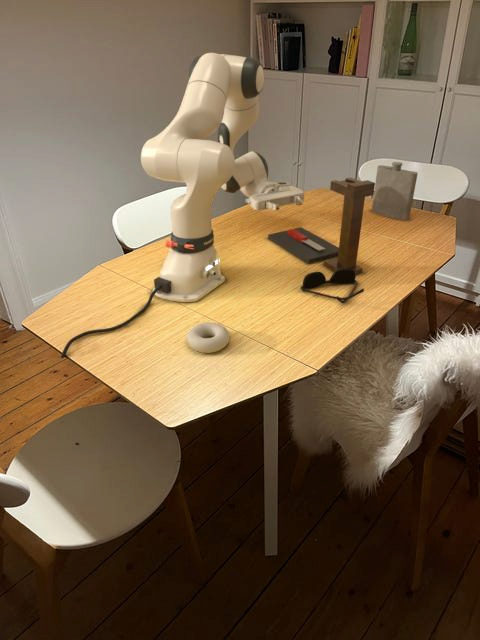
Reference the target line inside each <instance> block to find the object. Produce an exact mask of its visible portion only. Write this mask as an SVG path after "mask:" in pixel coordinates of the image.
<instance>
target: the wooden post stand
mask: <svg viewBox="0 0 480 640" xmlns="http://www.w3.org/2000/svg"><path fill="white" fill-rule="evenodd" d="M375 183H376V182H374V181H372V180H368V179H367V180H362V181H361V180H359V179H356V178H353V177H346V178H345V179H343V180H337V179H334V180H331V181H330V185H329V186H330V188H329V190H330V191H332V192H334V193H337V194H340V195H341V196H343V205H342V213H341V224H340V232H339V240H338V241H339V243H338V247H339V251H338V256H337V257H333V258H329V259H326V260H323V265H322V266H324V267H325V268H327V269H329V270H330V271H332V272H333V273H334V272H335V271H336V270H339V269H344V268H348V269H353V270H354V271H355V275H356V276H357V275H360V274H362V273H363V272H364V268H363V267H362V266H361V265H359V264H357V262H358V254H359V247H360V246H359V245H360V240H361V239H360V238H361V230H362V223H363V215H364V210H365V209H364V207H365V201H366V197H372V196H374V190H375Z"/></svg>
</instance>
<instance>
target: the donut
mask: <svg viewBox="0 0 480 640" xmlns="http://www.w3.org/2000/svg"><path fill="white" fill-rule="evenodd" d="M186 341H187V344H188V345H189V347H190V348H191V349H193V350H194V351H196V352H199V353H203V354H206V353H207V354H210V353H215V352H218V351H221V350H223V349H224V348H225V347H226V346H227V345H228V344H229V341H230V333H229V330H228V329H227V328H226V327H225V326H224V325H222V324H220V323H217V322H210V321H209V322H201V323H198V324H196V325H194V326H192V327H191V328H190V329H189V331H188V332H187V334H186Z"/></svg>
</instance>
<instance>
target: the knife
mask: <svg viewBox="0 0 480 640" xmlns="http://www.w3.org/2000/svg"><path fill="white" fill-rule="evenodd" d="M294 229H295V228H289V229H287V230H288V233H287V234H288V235H290V236H292V237H293V238H295V239H297V240H299V241H300V242H302V243H303V242H304V243H306V244H308V245H310V246H311V247H313V248H315V249H316V250H318V251H321V250H325V249H326V248H324V247H322V246H320V245H318V244H317V243H315V242H313V241H311V240H310V239H308V237H307V236H305V235H303V234H301V233H300V232H298V231H296V230H294Z"/></svg>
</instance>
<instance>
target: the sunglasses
mask: <svg viewBox="0 0 480 640" xmlns="http://www.w3.org/2000/svg"><path fill="white" fill-rule="evenodd" d="M356 276H357V274H356V275H355V271H354V270H353V269H348V268H344V269H339V270H336V271H335V272H334V271H333V272H332V274H331V276H330V277H329V279H328V280H327V278H326V276H325V274H324V272H322V271H311V272H309V273H307V274H306V275H304V277H303V280H302V285H301V286H300V290H301V291H303V292H306V293H309V294H313V295H317V296H321V297H325V298H329V299H334V300H337V301H338V302H339V303H341V304H345V303H346V302H347V301H348V300H349V299H352V298H354V297H356V296H358V295H360V294H362V293H364V292H365V289H364V288H361V289H359V290H357V291H356V292H354V291H355V289H356V286H357V285H358V281H357V280H356ZM328 284H329V285H351V284H354V286H353V288H352V290H351V292H350V293H349V294H348V296H346V297H340V296H339V295H337V296H334V295H330V294H325V293H321V292H319V291H318V292H317V291H314V290H311V289H314V288H318V287H321V286H324V285H328Z"/></svg>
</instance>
